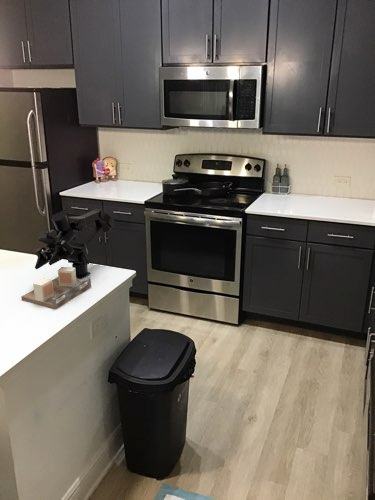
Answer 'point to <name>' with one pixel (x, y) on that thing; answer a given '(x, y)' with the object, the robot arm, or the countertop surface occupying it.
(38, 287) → the faced carton
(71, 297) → the brown tray
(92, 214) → the robot arm
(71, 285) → the askew carton
